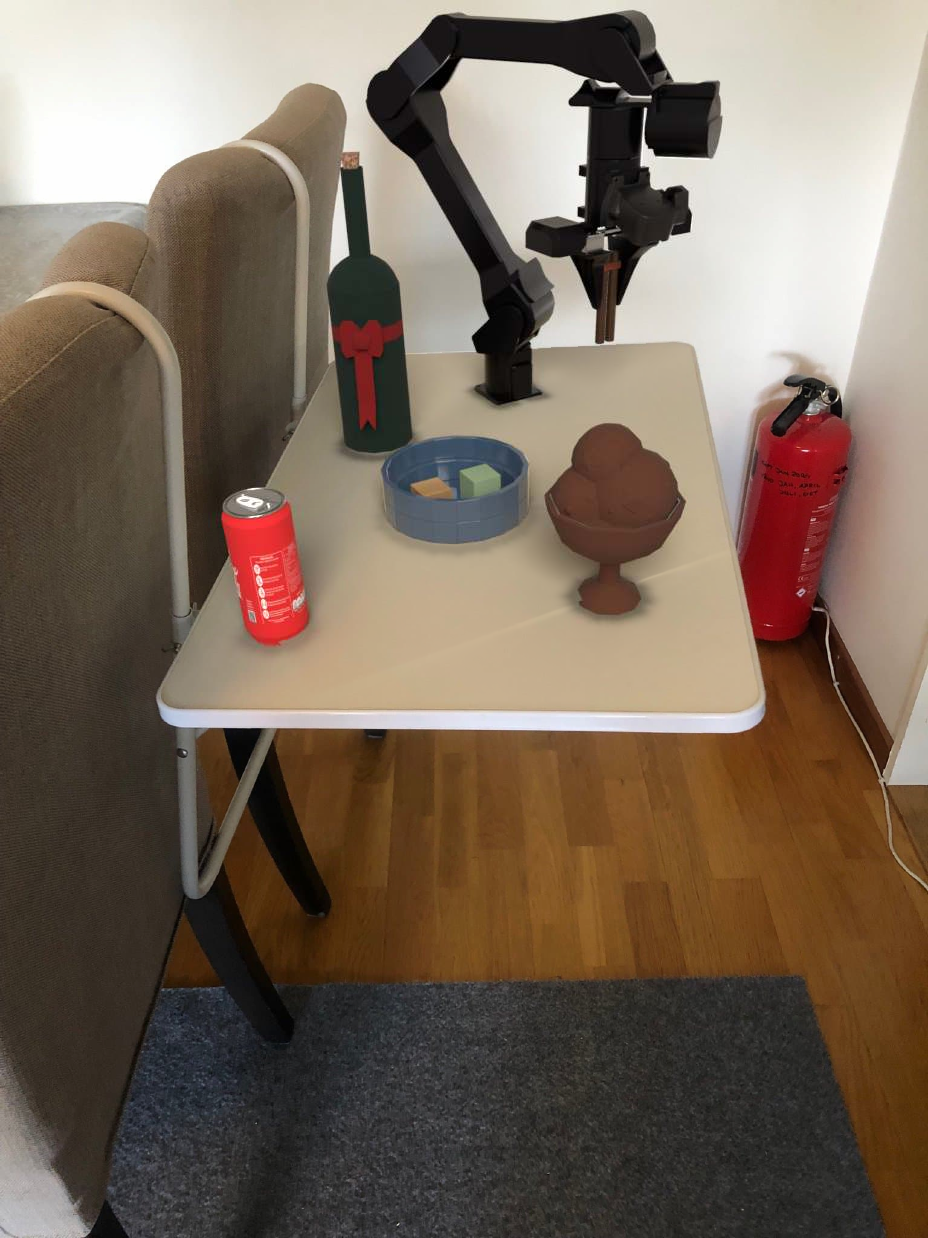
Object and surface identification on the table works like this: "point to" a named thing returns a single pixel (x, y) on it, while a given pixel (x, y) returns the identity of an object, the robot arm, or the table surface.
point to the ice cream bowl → (613, 510)
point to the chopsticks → (608, 300)
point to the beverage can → (265, 564)
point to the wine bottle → (367, 332)
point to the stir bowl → (455, 489)
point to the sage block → (479, 481)
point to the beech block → (432, 489)
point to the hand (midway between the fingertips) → (606, 306)
